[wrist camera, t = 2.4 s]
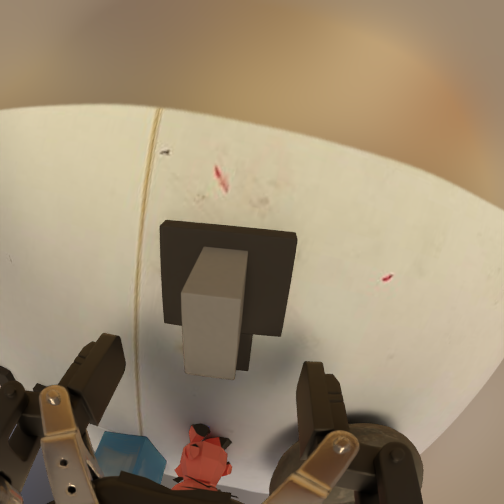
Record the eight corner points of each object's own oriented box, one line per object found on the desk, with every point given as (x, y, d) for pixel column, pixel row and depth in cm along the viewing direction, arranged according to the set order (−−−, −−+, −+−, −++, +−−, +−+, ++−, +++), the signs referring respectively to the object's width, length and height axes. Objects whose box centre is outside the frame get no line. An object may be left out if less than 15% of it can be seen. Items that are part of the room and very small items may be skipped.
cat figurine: (252, 442, 27) (246, 542, 16) (208, 457, 29) (194, 543, 18) (203, 412, 25) (181, 524, 14) (161, 430, 27) (134, 523, 16)
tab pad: (171, 350, 22) (147, 413, 16) (165, 219, 18) (121, 263, 12) (273, 362, 22) (274, 431, 16) (295, 232, 18) (309, 284, 12)
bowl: (380, 459, 29) (393, 521, 20) (266, 467, 30) (263, 537, 20) (425, 387, 23) (460, 467, 14) (275, 398, 24) (275, 500, 15)
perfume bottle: (126, 455, 31) (103, 525, 20) (104, 431, 29) (73, 506, 18) (166, 461, 30) (147, 537, 19) (146, 436, 28) (119, 522, 17)
